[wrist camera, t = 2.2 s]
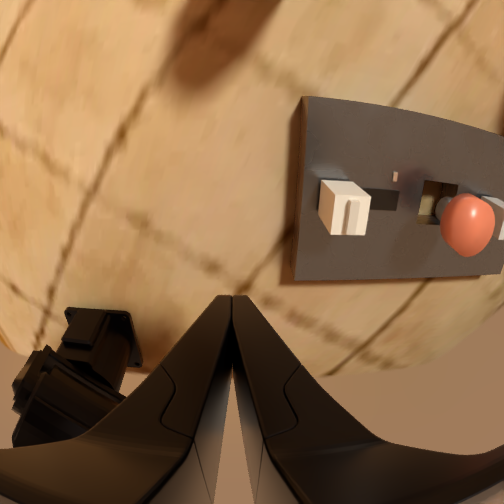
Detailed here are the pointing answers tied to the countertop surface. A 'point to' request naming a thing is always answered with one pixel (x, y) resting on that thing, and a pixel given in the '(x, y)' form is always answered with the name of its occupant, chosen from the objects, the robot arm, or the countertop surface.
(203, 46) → the countertop surface
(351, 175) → the panel
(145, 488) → the robot arm
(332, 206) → the ivory slide knob
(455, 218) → the red push button
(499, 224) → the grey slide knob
